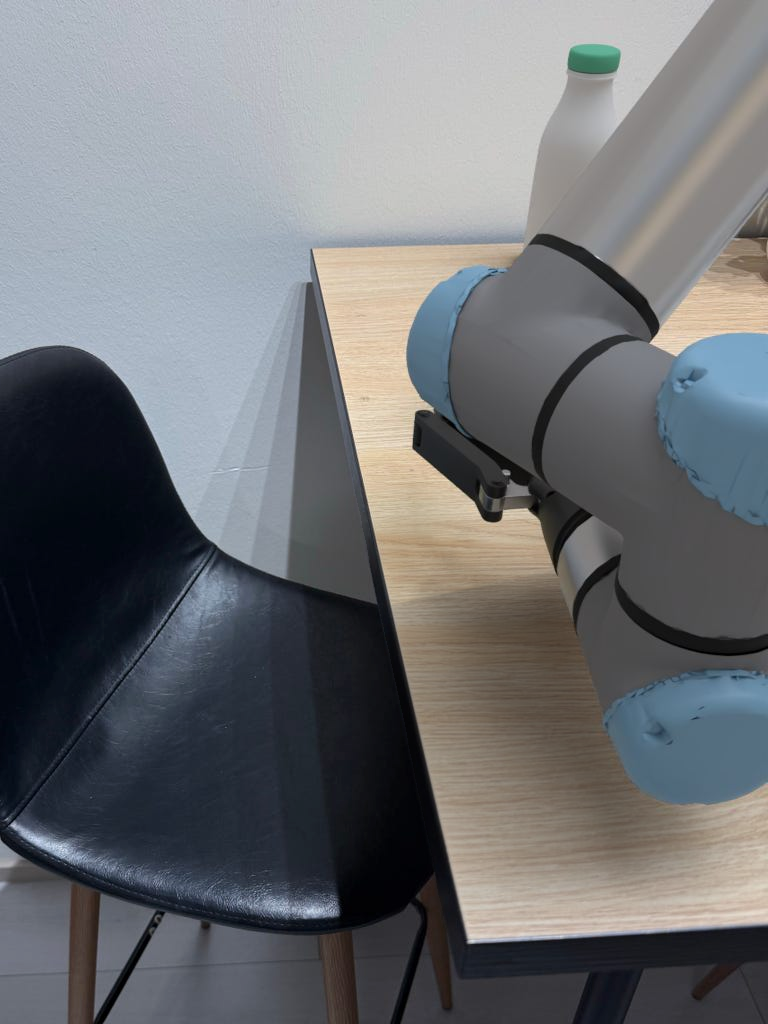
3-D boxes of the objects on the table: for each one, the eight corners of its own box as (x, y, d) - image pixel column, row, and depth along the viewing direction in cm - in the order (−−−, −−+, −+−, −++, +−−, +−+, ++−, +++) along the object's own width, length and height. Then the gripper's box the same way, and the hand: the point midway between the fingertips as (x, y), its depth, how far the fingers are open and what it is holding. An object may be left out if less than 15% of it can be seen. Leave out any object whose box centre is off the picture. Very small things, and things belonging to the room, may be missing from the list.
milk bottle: (561, 287, 103) (599, 62, 90) (505, 263, 108) (534, 46, 95) (612, 269, 107) (657, 49, 93) (556, 247, 111) (591, 35, 98)
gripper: (390, 609, 59) (366, 422, 75) (830, 606, 59) (712, 420, 75) (399, 496, 54) (371, 323, 70) (880, 493, 54) (741, 321, 70)
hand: (547, 373), depth 72 cm, fingers open, 13 cm apart
